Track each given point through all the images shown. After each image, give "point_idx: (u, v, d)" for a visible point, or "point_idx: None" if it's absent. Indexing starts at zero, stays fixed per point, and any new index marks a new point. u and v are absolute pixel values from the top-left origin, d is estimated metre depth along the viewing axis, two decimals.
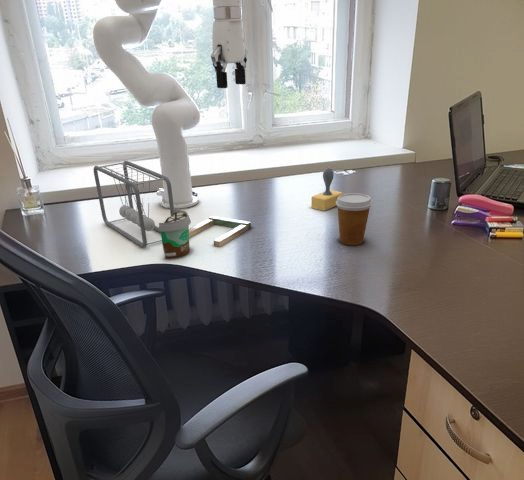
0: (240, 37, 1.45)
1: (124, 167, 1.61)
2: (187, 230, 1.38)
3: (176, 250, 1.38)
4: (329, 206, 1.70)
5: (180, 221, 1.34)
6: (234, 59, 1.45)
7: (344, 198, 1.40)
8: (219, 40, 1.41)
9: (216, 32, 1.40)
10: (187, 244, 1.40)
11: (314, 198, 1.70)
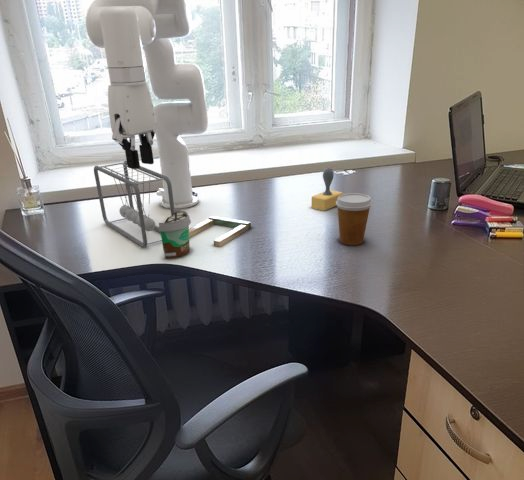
0: (146, 102, 1.14)
1: (124, 167, 1.61)
2: (187, 230, 1.38)
3: (176, 250, 1.38)
4: (329, 206, 1.70)
5: (180, 221, 1.34)
6: (139, 130, 1.15)
7: (344, 198, 1.40)
8: (116, 109, 1.10)
9: (112, 99, 1.10)
10: (187, 244, 1.40)
11: (314, 198, 1.70)
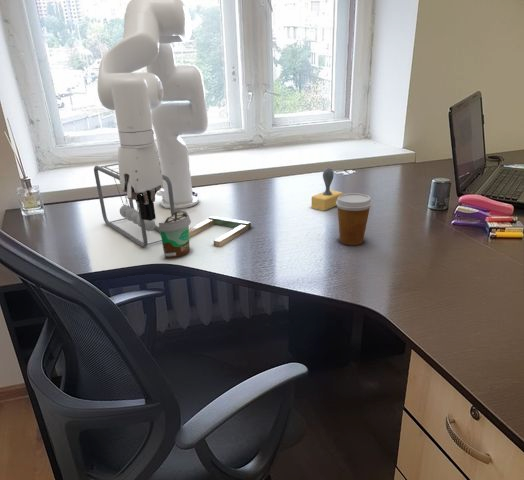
0: (154, 161, 1.21)
1: None
2: (187, 230, 1.38)
3: (176, 250, 1.38)
4: (329, 206, 1.70)
5: (180, 221, 1.34)
6: (147, 187, 1.21)
7: (344, 198, 1.40)
8: (126, 169, 1.17)
9: (122, 160, 1.16)
10: (187, 244, 1.40)
11: (314, 198, 1.70)
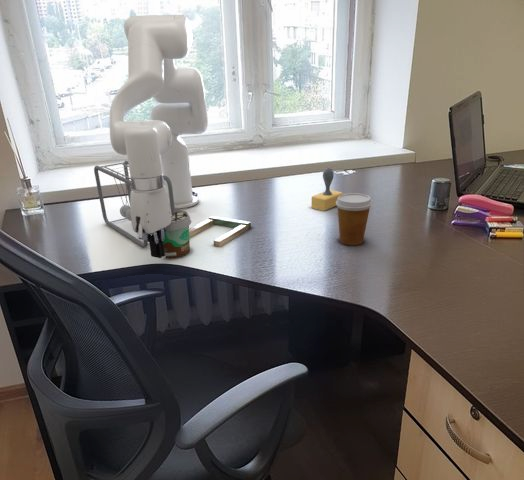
0: (164, 203, 1.27)
1: (125, 167, 1.61)
2: (187, 230, 1.38)
3: (176, 250, 1.38)
4: (329, 206, 1.70)
5: (181, 221, 1.34)
6: (157, 228, 1.28)
7: (344, 198, 1.40)
8: (137, 212, 1.23)
9: (134, 204, 1.23)
10: (187, 244, 1.40)
11: (314, 198, 1.70)
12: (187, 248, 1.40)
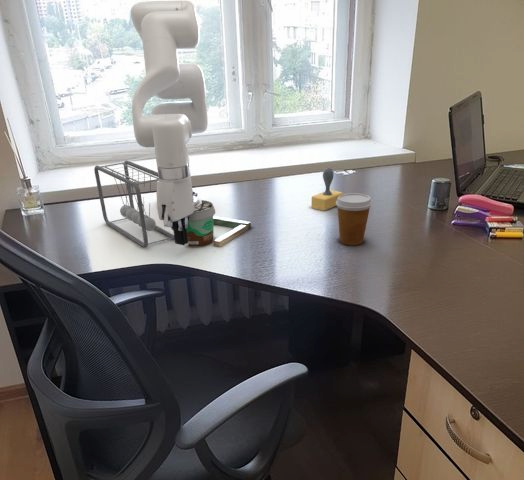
0: (188, 193, 1.34)
1: (125, 167, 1.61)
2: (211, 220, 1.44)
3: (198, 239, 1.44)
4: (329, 206, 1.70)
5: (203, 211, 1.41)
6: (182, 216, 1.35)
7: (344, 198, 1.40)
8: (163, 201, 1.30)
9: (160, 192, 1.30)
10: (210, 234, 1.46)
11: (314, 198, 1.70)
12: (210, 238, 1.47)
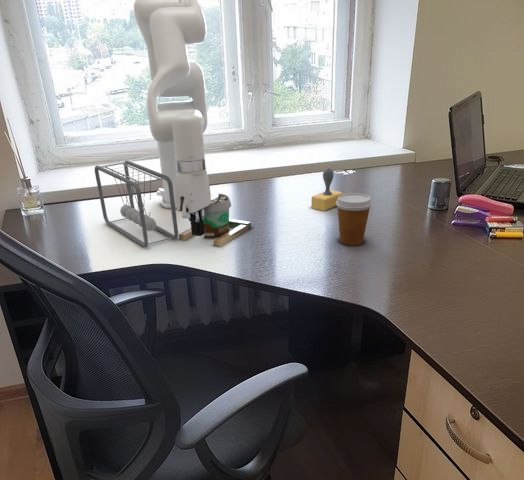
0: (205, 185, 1.40)
1: (125, 167, 1.61)
2: (226, 213, 1.49)
3: (214, 231, 1.50)
4: (329, 206, 1.70)
5: (219, 204, 1.46)
6: (199, 207, 1.40)
7: (344, 198, 1.40)
8: (182, 193, 1.36)
9: (179, 185, 1.35)
10: (226, 226, 1.51)
11: (314, 198, 1.70)
12: (225, 230, 1.52)
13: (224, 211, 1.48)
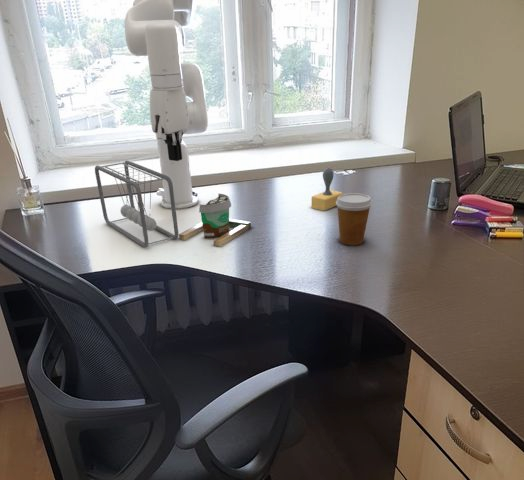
0: (182, 104, 1.32)
1: (125, 167, 1.61)
2: (226, 213, 1.49)
3: (214, 231, 1.50)
4: (329, 206, 1.70)
5: (219, 204, 1.46)
6: (175, 128, 1.32)
7: (344, 198, 1.40)
8: (157, 111, 1.28)
9: (153, 102, 1.27)
10: (226, 226, 1.51)
11: (314, 198, 1.70)
12: (225, 230, 1.52)
13: (224, 211, 1.48)
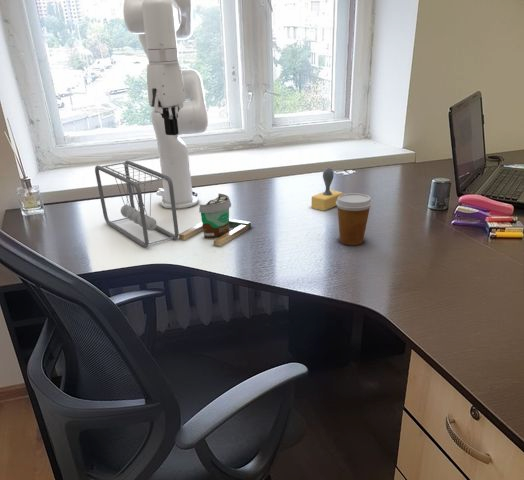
0: (178, 79, 1.36)
1: (125, 167, 1.61)
2: (226, 213, 1.49)
3: (214, 231, 1.50)
4: (329, 206, 1.70)
5: (219, 204, 1.46)
6: (172, 103, 1.36)
7: (344, 198, 1.40)
8: (154, 84, 1.32)
9: (150, 75, 1.31)
10: (226, 226, 1.51)
11: (314, 198, 1.70)
12: (225, 230, 1.52)
13: (224, 211, 1.48)
